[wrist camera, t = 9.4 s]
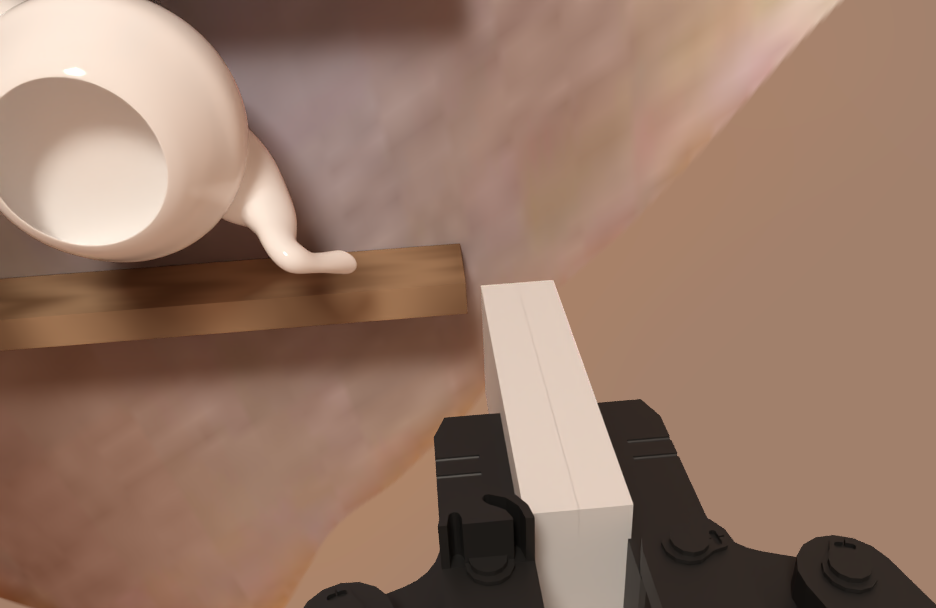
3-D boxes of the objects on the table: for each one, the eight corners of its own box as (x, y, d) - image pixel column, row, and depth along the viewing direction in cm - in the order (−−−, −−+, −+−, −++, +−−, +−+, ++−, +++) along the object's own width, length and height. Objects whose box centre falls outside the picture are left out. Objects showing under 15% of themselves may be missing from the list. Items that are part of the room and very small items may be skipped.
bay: (-164, 320, 38) (-308, 443, 30) (-364, -80, 30) (-635, -53, 22) (461, 271, 39) (477, 378, 32) (437, -128, 31) (450, -117, 23)
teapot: (310, 286, 39) (288, 401, 31) (-137, 55, 33) (-313, 125, 25) (417, 120, 36) (422, 201, 28) (-62, -176, 29) (-238, -183, 21)
